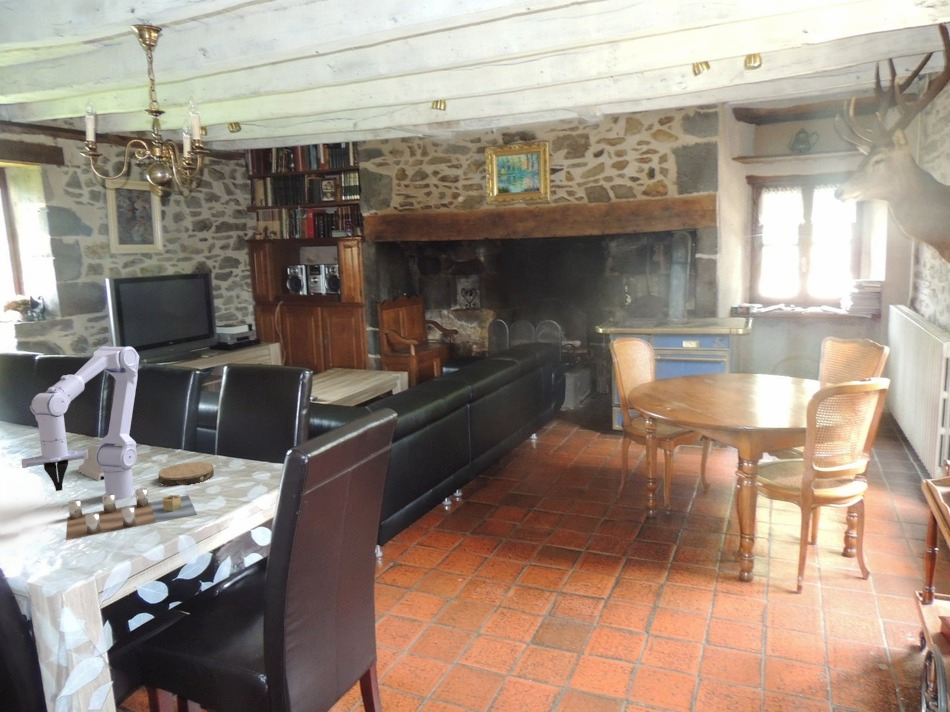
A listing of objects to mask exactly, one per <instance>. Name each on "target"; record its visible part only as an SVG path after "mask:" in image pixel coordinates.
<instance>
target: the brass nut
mask: <svg viewBox="0 0 950 712" xmlns="http://www.w3.org/2000/svg"><path fill="white" fill-rule="evenodd" d="M161 500H162V501H163V510H164V512H166V511H176V510H178V509H181V499H180V494H174V495H173V494H172V495H170V494H169V495H168V496H164V497H162V498H161Z"/></svg>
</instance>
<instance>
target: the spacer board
mask: <svg viewBox="0 0 950 712" xmlns="http://www.w3.org/2000/svg"><path fill="white" fill-rule="evenodd" d="M180 499H181V509H178V510H176V511H166V512H164V510H163V501H162V499H159V500H153V501H148V502H149V505H148V506H146V507H137V504H136V503H135V504H131V505H126V506H125V505H124V506H121V507H116V511H115V512H113V513H104V509H103V510H97V511H92V512H87V513H82V514H83V517H82V518H79V519H75V520H71V519H70V517H69V516H67V521H66V522H67V523H66V537H65V538H66V539H65V540H66V541H68V540H69V541H70V540H74V539H79V538H85V537H89V536H95V535H100V534H105V533H110V532H111V533H112V532H115V531H122V530H127V529H132V528H136V527H142V526H146V525H152V524H157V523H161V522H163V523H164V522H167V521H168V522H169V521H173V520H177V519H183V518H189V517H194V516H198V514H197V513H198V512H197V510H196V509H195V507H194V504H193V502H192V500H191V498H190V496H189V494H187V495H181V496H180ZM128 506H133V507H134V508H135V518H136V525H135V526H132V527H123V521H122V511H121V509H122V508H124V507H128ZM90 513H99V518H100V528H101V531H100V532H99V533H96V534H87V527H86V518H85V516H86V515H87V514H90Z"/></svg>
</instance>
